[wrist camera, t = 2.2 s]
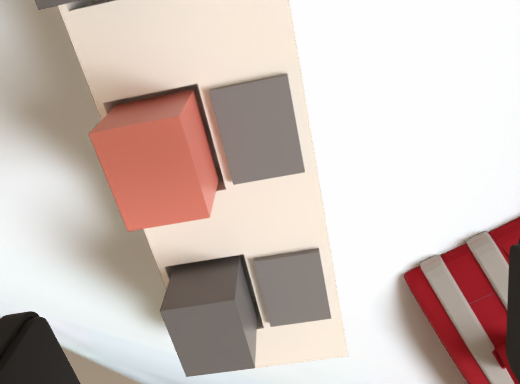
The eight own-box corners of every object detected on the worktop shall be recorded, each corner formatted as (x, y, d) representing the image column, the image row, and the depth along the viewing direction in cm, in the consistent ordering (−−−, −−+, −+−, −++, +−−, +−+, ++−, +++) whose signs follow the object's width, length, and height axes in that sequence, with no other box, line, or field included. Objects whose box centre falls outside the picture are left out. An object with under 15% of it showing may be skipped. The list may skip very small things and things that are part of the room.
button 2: (116, 104, 19) (88, 133, 16) (193, 89, 18) (179, 115, 15) (147, 191, 20) (128, 231, 18) (218, 179, 20) (209, 217, 17)
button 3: (174, 264, 22) (160, 311, 19) (239, 253, 22) (234, 300, 19) (196, 326, 24) (186, 376, 21) (257, 317, 24) (255, 367, 21)
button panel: (-74, -480, 13) (-188, -619, 10) (190, -579, 13) (161, -770, 9) (207, 327, 28) (198, 379, 25) (339, 309, 27) (348, 360, 24)
